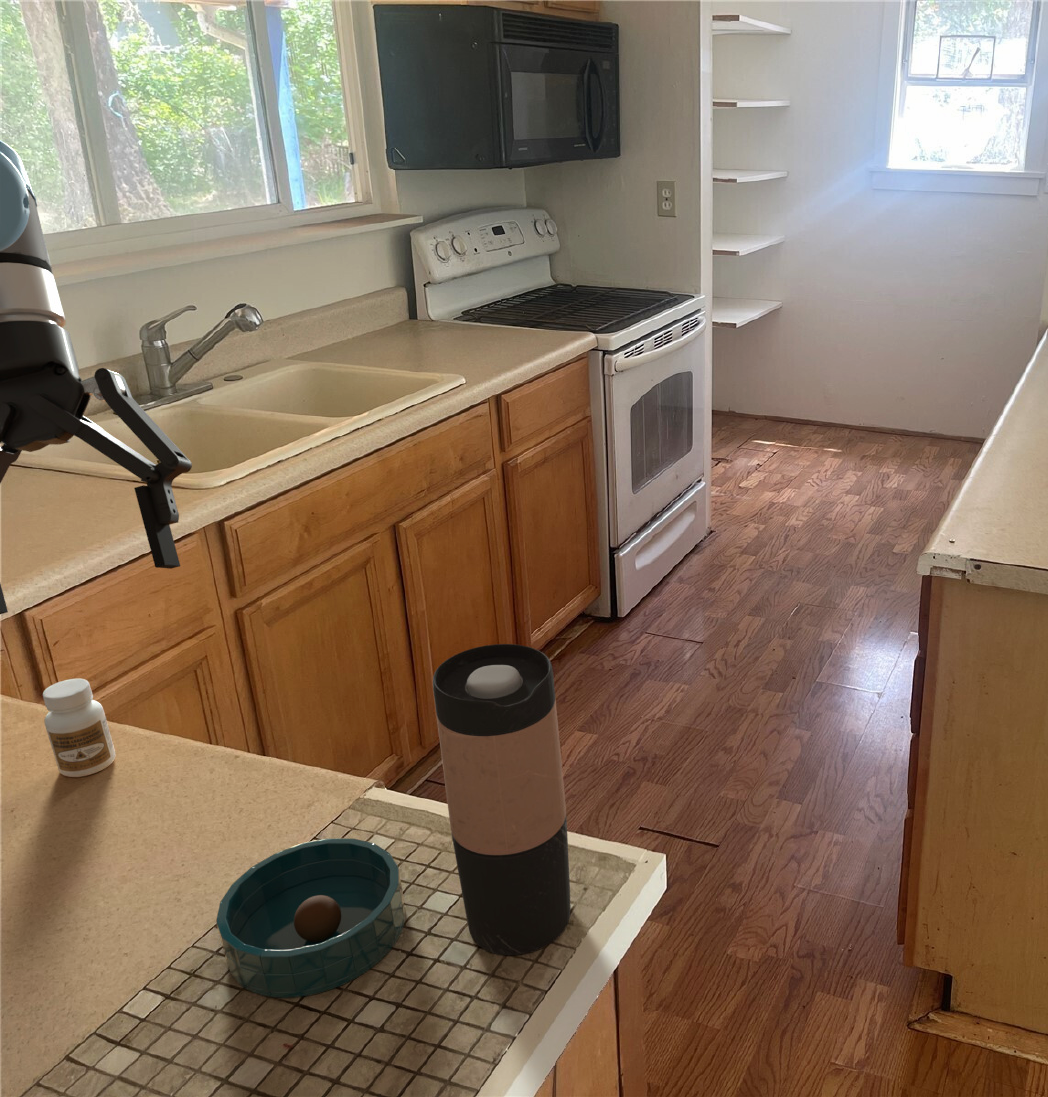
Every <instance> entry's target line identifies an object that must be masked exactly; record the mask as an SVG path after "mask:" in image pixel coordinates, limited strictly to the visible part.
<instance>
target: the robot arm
mask: <svg viewBox="0 0 1048 1097" xmlns="http://www.w3.org/2000/svg"><path fill="white" fill-rule="evenodd" d="M43 232H44V231H43V229H42V224H41V220H40V216H39V212H38V203H37V197H36V196H35V194H34V191H33V189H32V185H31V183H30V180H29V176H28V174H27V171H26V169H25V167H24V164H23V161H22V160H21V158H20V156H19V154H18V153H17V152H16V151H15V150H14V149H13V148H12V147H11V146H10V145H9V144H7V143H5V142H4V141H2V140H0V444H2V445H1V446H0V484H2V481H3V480H4V478H5V476H6V474H7V472H8V470H9V468H10V466H11V465H12V464H14V463H15V462H17V461H18V459H19V457H20V456H21V453H22V452H23V451H24V452H28V453H33V452H36V451H40V450H42V449H44V448H46V447H48V446H50V445H51V446H52V445H55V446H57V445H59V446H60V445H63V444H67V443H70V442H71V441H70V440H71V439H72V438H73V437H77V438H78V439H80V440H81V441H83V442H84V443H86V444H88V445H89V446H90V447H92V448H94V450H96V451H98V452H99V453H101V454H103V455H104V456H105V457H107V458H109V459H110V460H112V461H114V463H116V464H118V465H119V466H121V467H122V468H124V469H125V470H127V471H128V472H129V473H131V474H132V475H134V476H136V478H139V479H140V481H141V482H143V483H146V485H140V486H136V487H134V493H135V497H136V500H137V504H138V507H139V511H140V515H141V519H142V523H143V527H144V530H145V534H146V538H147V541H148V545H149V546H148V547H149V549H150V553H151V557H152V560H153V564H154V568H155V569H156V568H157V569H159V568H160V569H168V570H169V569H170V570H171V569H175V568H179V567H181V563H180V558H179V555H178V552H177V548H176V544H175V541H174V537H173V533H172V530H171V529H172V528H171V525H174V524H177V523H179V520H180V514H179V510H178V506H177V503H176V499H175V495H174V491H173V486H172V484H173V482H174V480H175V479H176V478H177V477H179V476H181V475H182V474H187V473H189V472H190V471H191V470H192V467H193V465H192V461H191V460H190V459H189V458H188V457H187V456H186V454H185V453H184V452H183V451H182V450H181V449H180V448H179V447H178V446H177V445H176V444H175V443H174V441H172V439H171V438H170V437H169V436H168V435H167V433H165V432H164V431H163V430H162V428H161V427H160V426H159V425H158V424H157V423H156V422H155V420H153V419H152V418H151V417H150V415H149V414H148V413H147V412H146V411H145V410H144V409H143V408H142V407H141V406H140V404H139V403H138V402H137V401H136V399H134V398H133V395H132V393H131V390H130V387H129V386H128V384H127V381H126V379H125V377H124V376H123V375H121V374H119V373H117V372H114V371H113V370H110V369H108V368H105V367H100V368H98V369H96V371H95V372H94V375H93V376H92V377H88V378H86V379H82V378H81V376H80V368H79V365H78V360H77V356H76V353H75V349H74V345H73V342H72V338H71V334H70V332H69V331H67V330H66V329H65V328H64V327H65V326H66V323H67V319H66V316H65V313H64V309H63V304H62V302H61V298H60V293H59V291H58V286H57V283H56V280H55V276H54V272H53V268H52V262H51V259H50V256H49V252H48V248H47V244H46V240H45V236H44V233H43ZM92 396H94V397H95V398H96V399H97V400H98V401H102V402H104V403H106V404H107V405H108V407H109V409H111V410H112V411H113V412H114V413H115V415H117V417H118V418H119V419H120V420H121V421H122V422H123V423H124V424H125V425H126V426H127V428H128V429H129V430H130V431H131V432H132V433H133V434H134V436H136V437H137V438H138V439H139V440H140V442H141V443H142V444H143V445H144V446H145V447H146V448H147V449H148V450H149V451H150V453H151V454H152V455H153V456H154V457H155V458H156V459H157V460H158V461H159V463H157V464H155V463H154V462H152V461H151V460H149V459H148V458H146V457H145V456H143V455H142V454H140V453H139V452H138V451H136V450H134V449H133V448H131V447H130V446H128V445H127V444H125V443H124V442H122V441H121V440H119V439H118V438H116V437H115V436H114V435H112V434H110V433H109V432H107V431H106V430H105V429H104V428H102V427H101V426H100V425H98V424H97V423H95V422H93V421H92V420H91V419H89V418H88V417H87V416H85V412H86V410H87V408H88V406H89V403H90V401H91V397H92ZM6 613H9V611H8V607H7V603H6V599H5V595H4V592H3V588H2V584H1V583H0V615H4V614H6Z"/></svg>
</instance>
